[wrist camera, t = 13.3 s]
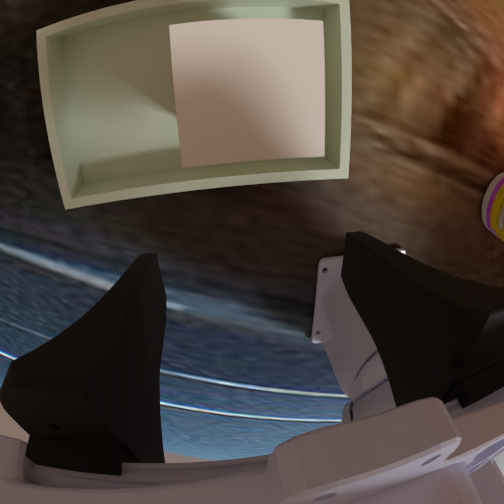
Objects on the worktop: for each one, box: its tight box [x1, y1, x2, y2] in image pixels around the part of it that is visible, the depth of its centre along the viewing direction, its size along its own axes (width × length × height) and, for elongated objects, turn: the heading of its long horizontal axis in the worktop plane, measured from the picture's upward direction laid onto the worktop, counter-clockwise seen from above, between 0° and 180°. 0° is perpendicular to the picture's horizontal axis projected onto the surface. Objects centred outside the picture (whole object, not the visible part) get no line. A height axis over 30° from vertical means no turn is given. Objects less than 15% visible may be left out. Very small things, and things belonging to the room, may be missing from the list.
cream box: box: [169, 18, 325, 168], centre depth 11 cm, size 4×4×5 cm
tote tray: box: [36, 0, 352, 210], centre depth 16 cm, size 11×17×3 cm, turn 92°
